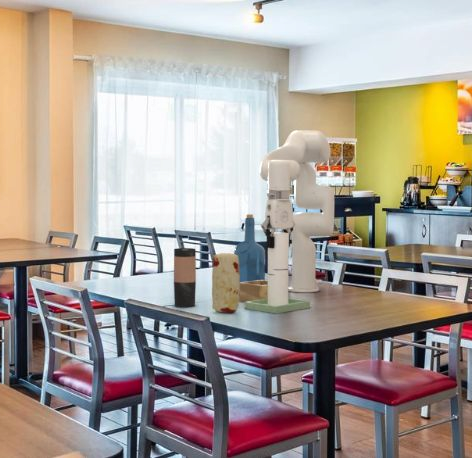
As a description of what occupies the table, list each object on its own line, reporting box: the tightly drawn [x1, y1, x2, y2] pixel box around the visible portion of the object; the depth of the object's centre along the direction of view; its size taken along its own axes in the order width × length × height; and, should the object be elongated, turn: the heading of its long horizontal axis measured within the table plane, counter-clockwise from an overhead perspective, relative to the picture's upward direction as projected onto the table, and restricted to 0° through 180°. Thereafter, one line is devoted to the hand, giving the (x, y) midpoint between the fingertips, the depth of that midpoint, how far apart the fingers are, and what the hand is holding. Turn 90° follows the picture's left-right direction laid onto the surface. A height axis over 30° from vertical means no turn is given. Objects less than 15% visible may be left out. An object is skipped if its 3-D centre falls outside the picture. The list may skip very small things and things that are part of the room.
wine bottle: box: [233, 213, 266, 282], centre depth 328 cm, size 14×13×30 cm
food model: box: [211, 252, 240, 314], centre depth 261 cm, size 10×7×20 cm
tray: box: [244, 297, 311, 314], centre depth 271 cm, size 18×15×2 cm
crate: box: [238, 279, 268, 304], centre depth 285 cm, size 12×12×7 cm
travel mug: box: [173, 247, 197, 308], centre depth 274 cm, size 8×8×20 cm
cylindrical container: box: [267, 231, 290, 306], centre depth 270 cm, size 7×7×25 cm
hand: (278, 246), depth 270 cm, fingers closed on cylindrical container, 7 cm apart
